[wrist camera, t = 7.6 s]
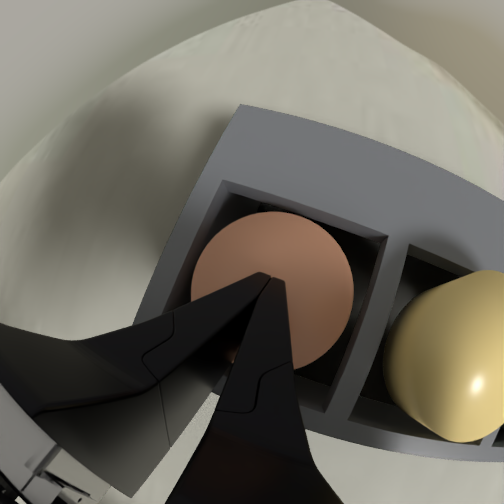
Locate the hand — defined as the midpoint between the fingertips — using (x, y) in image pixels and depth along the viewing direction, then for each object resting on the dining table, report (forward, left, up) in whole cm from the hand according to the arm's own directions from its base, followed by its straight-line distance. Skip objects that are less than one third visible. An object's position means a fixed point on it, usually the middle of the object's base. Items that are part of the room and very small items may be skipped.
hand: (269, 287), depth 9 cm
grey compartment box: (+6, -3, -8) cm, 11 cm away
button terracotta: (0, 0, -3) cm, 3 cm away
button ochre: (+5, -5, -1) cm, 7 cm away
